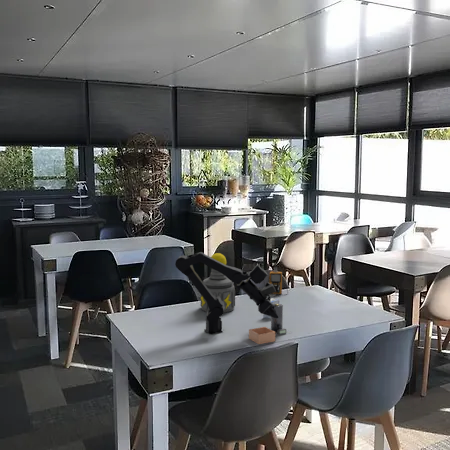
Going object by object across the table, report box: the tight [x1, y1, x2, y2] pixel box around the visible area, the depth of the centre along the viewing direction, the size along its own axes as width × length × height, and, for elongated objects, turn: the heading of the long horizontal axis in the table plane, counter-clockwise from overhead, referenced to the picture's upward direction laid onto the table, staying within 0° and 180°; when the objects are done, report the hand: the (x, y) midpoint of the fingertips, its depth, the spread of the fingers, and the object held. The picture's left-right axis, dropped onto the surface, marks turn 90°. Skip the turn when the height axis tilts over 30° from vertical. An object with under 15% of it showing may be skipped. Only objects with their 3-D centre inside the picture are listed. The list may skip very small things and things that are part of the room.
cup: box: [248, 326, 276, 345], centre depth 211 cm, size 8×8×4 cm
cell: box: [270, 303, 284, 333], centre depth 222 cm, size 5×5×12 cm
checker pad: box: [269, 327, 293, 337], centre depth 223 cm, size 10×10×2 cm
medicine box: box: [262, 297, 280, 319], centre depth 247 cm, size 8×4×9 cm, turn 141°
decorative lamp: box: [200, 252, 236, 314], centre depth 262 cm, size 19×19×30 cm
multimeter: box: [263, 260, 289, 297], centre depth 293 cm, size 15×10×20 cm
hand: (277, 314), depth 222 cm, fingers open, 9 cm apart
